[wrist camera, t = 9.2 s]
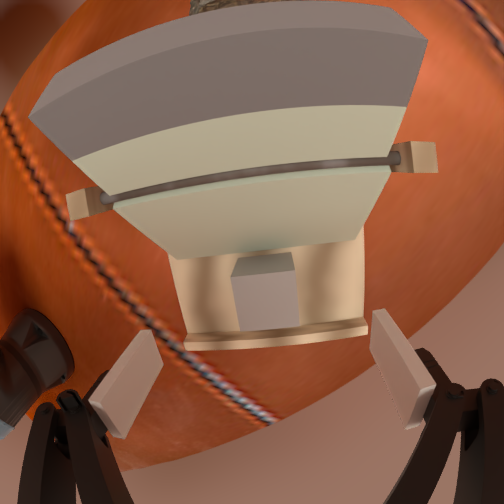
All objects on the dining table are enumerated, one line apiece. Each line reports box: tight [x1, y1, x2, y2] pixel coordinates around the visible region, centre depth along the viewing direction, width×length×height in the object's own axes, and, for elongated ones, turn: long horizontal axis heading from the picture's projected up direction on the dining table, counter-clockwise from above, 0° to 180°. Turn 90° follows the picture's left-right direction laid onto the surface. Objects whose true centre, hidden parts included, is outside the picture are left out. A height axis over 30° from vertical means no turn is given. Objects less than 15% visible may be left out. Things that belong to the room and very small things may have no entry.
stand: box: [66, 141, 438, 351], centre depth 21 cm, size 23×28×14 cm
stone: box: [230, 252, 300, 332], centre depth 26 cm, size 6×6×6 cm
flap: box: [28, 0, 428, 260], centre depth 18 cm, size 19×22×4 cm
